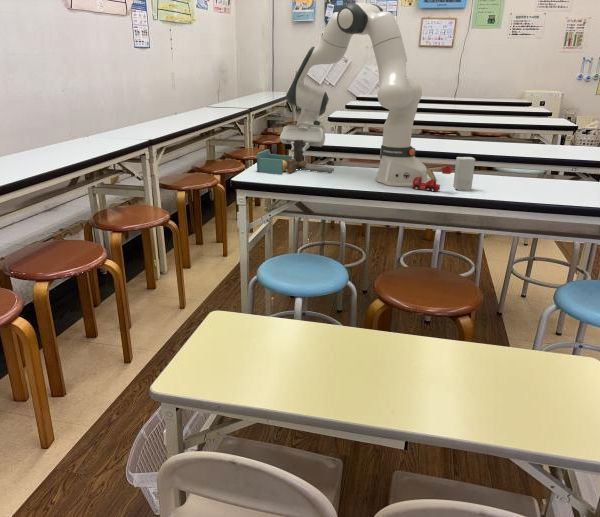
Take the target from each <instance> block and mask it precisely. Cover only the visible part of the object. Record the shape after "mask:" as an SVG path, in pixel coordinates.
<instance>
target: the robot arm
mask: <svg viewBox="0 0 600 517" xmlns="http://www.w3.org/2000/svg"><path fill="white" fill-rule="evenodd" d="M354 35H359V36H360V35H361V36H362V35H368V36H369V38H370V42H371V45H372V49H373V52H374V57H375V61H376V65H377V71H378V81H379V82H378V83H379V85H378V86H379V88H378V93H377V100H378V103H379V105H380V106H381V107H382V108H383V109H384V108H385V109H387V110H388V113H387V114H388V115H387V117H386V119H385V122H384V124H383V131H382V143H381V145H380V153H379V157H380V158H379V159H380V161H379V166H378V171H377V175H376V176H375V177H376V178H375V181H376V182H379V183H381V184H383V185H385V186H388V187H389V186H391V187H392V186H393V187H410V188H412V187H413V180H414V178H416V177H422V179H421V183H426V182H428V181H430V180H431V179H430V177H429V176H428V174H427V173H426V171H427V170H428V169H427V167H426V165H425V164H424V163H423V162H422V161H420V160H419V159H418V158H417V157H416V156H415V155H416V148H415V147H413V146H412V145H411V143H412V136H413V126H414V120H415V118H416V114H417V110H418V107H419V103H420V101H421V99H422V96H423V88H422V87H421V85H420V83H418V82H417V81H415V80H414V79H411V78H408V76H407V63H408V62H407V61H408V57H407V53H406V50H405V49H406V48H405V46H404V42H403V37H402V34H401V31H400V27H399V24H398V22H397V20H396V17H395V16H394V14H393V13H392V12H390V11H387V10H384V9H383V7H381V6H380V5H377V4H375V3H367V2H349V3H346V4H343V6H341V7H340V8H339V9H338V11H336V12H334V13H333V14H331V16H330V17H329V20H328V22H327V24H326V26H325V28H324V30H323V34H322V37H321V39H320V41H319V42H318V44H316V45H315V46H312V47H311V48H310V49H309V50H308V51H307V53H306V55H305V57H304V58H303V60H302V62H301V64H300V66H299V68H298V70H297V72H296V74H295V76H294V78H293V80H292V81H291V82H290V84H289V85H288V87H287V89H286V92H285V99H286V102H288V104H289V105H291V106H294V107H300V108H301V110H300V114H299V116H298V119H297V122H296V124H287V125H285V126H284V127H283V128H282V132H281V133H280V136H279V140H280V142H281V143H282V144H286V145H287V144H288V145H291V149H290V150H291V152H292V153H294V140H303V147H302V148H301V153H303V154H305V153H306V151H307V149H310V146H311V147H320V148H321V147H323V146H324V145H325V142H326V128H325V125H324V123H323V122H322V121H320V120H319V119H320V117H321V116H323V114H325V112H326V109H327V106H328V104H329V100H330V99H329V95H328V94H327V92H326V91H324V90H322V89H319V88H316V87H314V86H310V85H307V84H305V83H304V80H305V78H306V76H307V75H308V73H309V71H310V69H311V68H312V67H314V66H318V65H331V64H336V63H338V62H340V61H341V60H342V59H343V58H344V56H345V55H346V52H347V50H348V47H349V44H350V41H351V38H352V37H353V36H354Z"/></svg>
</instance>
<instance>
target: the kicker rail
mask: <svg viewBox="0 0 600 517" xmlns="http://www.w3.org/2000/svg"><path fill="white" fill-rule="evenodd" d="M296 169H299V170H298V171H301V170H310V171H309V172H312V171H317V172H316V173H323V172H328V173H327V174H332V173H333V172H334V171H335V168H334V167H323V166H313V165H306V166H304V167H298V166H296ZM300 169H301V170H300ZM332 171H333V172H332Z"/></svg>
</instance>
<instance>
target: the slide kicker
mask: <svg viewBox="0 0 600 517" xmlns="http://www.w3.org/2000/svg"><path fill="white" fill-rule="evenodd" d="M302 147H304V145H303V140H294V152H293V158H292V159H291V160H289V161H287V170H286V173H287V174H292V173H294V172H295V171H297V170H296V166H298V167H304V166H307V160H304V159H303V158H304V153H301V148H302Z"/></svg>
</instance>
